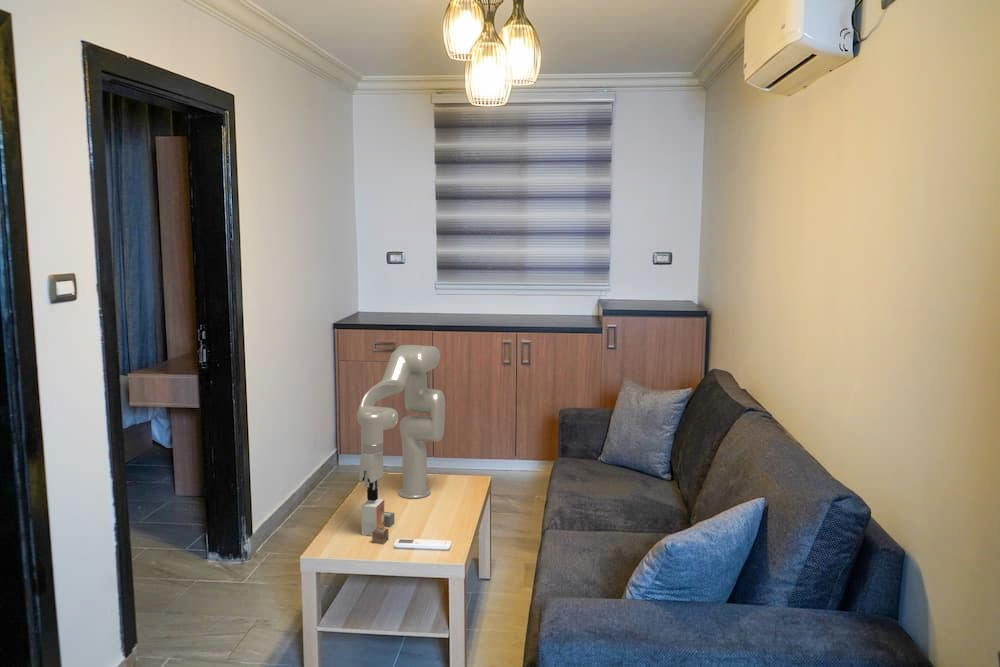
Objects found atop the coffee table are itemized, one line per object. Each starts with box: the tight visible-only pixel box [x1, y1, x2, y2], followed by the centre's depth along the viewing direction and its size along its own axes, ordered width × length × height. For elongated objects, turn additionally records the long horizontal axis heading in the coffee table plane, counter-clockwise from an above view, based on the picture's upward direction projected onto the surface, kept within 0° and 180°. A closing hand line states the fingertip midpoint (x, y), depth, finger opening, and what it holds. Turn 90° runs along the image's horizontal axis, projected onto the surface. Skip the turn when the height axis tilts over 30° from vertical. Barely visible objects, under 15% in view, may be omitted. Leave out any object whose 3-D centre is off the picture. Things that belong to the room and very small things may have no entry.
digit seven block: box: [371, 527, 389, 545], centre depth 250 cm, size 4×4×4 cm
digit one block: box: [384, 511, 395, 529], centre depth 265 cm, size 4×4×4 cm
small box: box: [360, 498, 385, 537], centre depth 258 cm, size 8×6×10 cm
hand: (372, 499), depth 257 cm, fingers closed
